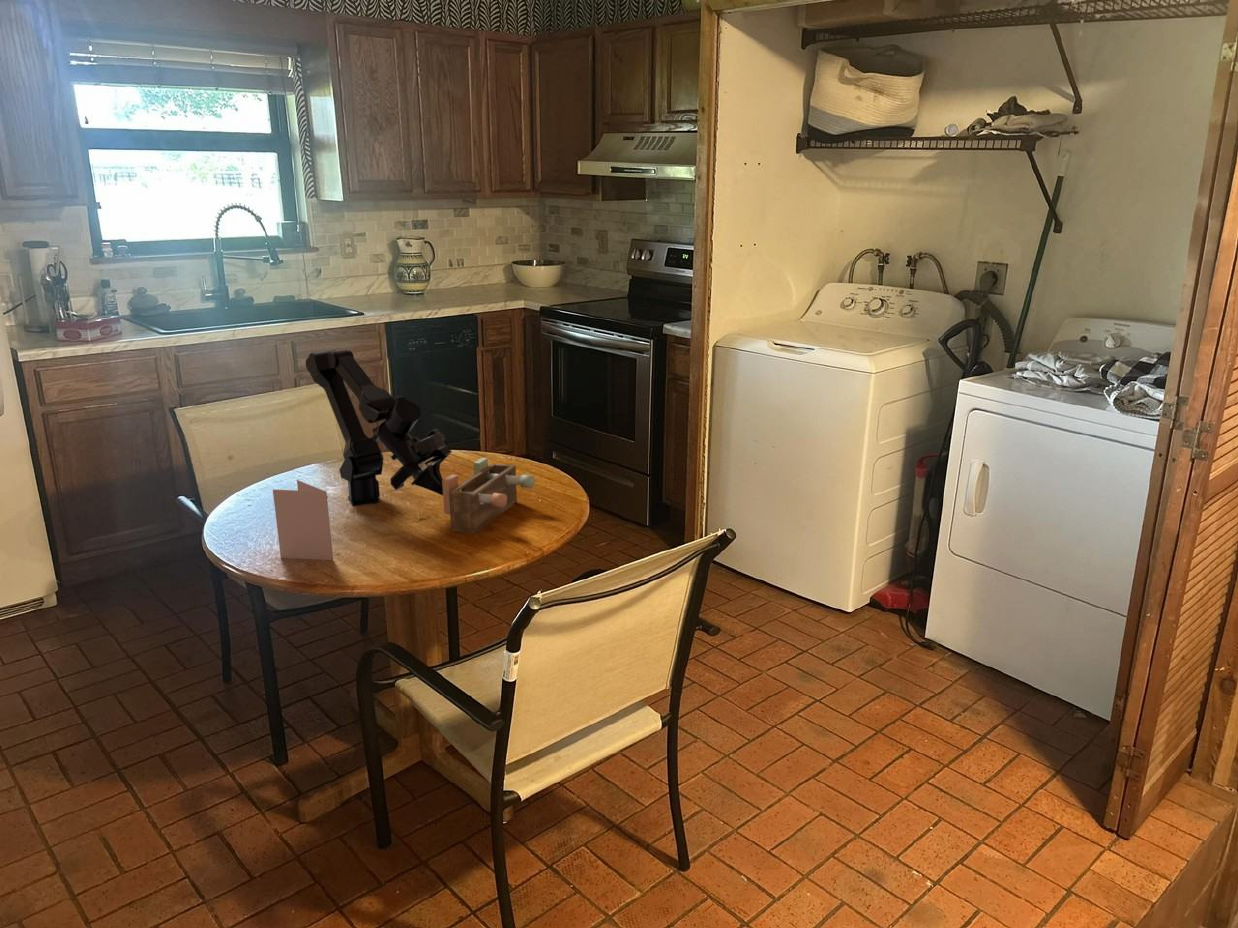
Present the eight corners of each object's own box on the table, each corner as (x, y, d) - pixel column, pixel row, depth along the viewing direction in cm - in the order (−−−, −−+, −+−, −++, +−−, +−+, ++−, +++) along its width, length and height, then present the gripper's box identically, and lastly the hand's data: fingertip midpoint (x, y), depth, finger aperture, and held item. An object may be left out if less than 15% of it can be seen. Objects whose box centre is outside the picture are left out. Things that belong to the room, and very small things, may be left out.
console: (451, 530, 206) (449, 491, 203) (494, 499, 226) (492, 463, 223) (475, 533, 204) (473, 494, 201) (516, 501, 224) (515, 465, 221)
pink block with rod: (444, 513, 207) (442, 480, 205) (453, 507, 211) (451, 474, 209) (500, 520, 203) (499, 486, 200) (509, 514, 207) (507, 480, 204)
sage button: (475, 494, 220) (473, 462, 217) (483, 488, 224) (482, 457, 221) (528, 500, 215) (527, 468, 213) (536, 495, 219) (535, 463, 217)
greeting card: (337, 558, 190) (330, 490, 186) (304, 569, 185) (296, 499, 181) (307, 544, 198) (300, 478, 193) (275, 554, 192) (267, 487, 188)
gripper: (398, 431, 196) (447, 485, 196) (441, 411, 213) (486, 461, 213) (369, 463, 201) (417, 516, 201) (414, 441, 218) (458, 489, 218)
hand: (446, 494), depth 208 cm, fingers closed, pressing on pink block with rod
